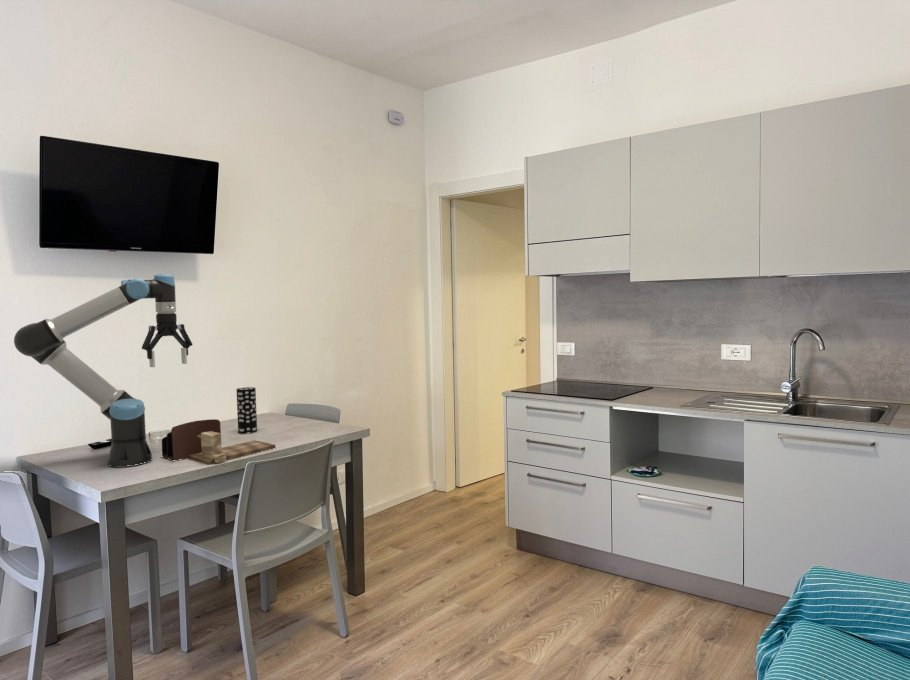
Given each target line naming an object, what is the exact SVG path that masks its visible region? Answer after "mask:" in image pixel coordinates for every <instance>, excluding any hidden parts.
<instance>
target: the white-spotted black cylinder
mask: <svg viewBox="0 0 910 680" xmlns="http://www.w3.org/2000/svg"><path fill="white" fill-rule="evenodd" d="M256 390H257V389H256V387H253V386H251V387H250V386H247V387H238V388H236V411H237V433H238V434H240V435H241V434H242V435H244V434H245V435H246V434H247V433H249V434H254V433H257V432H258V420H257V419H258V416H257V391H256Z"/></svg>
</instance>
